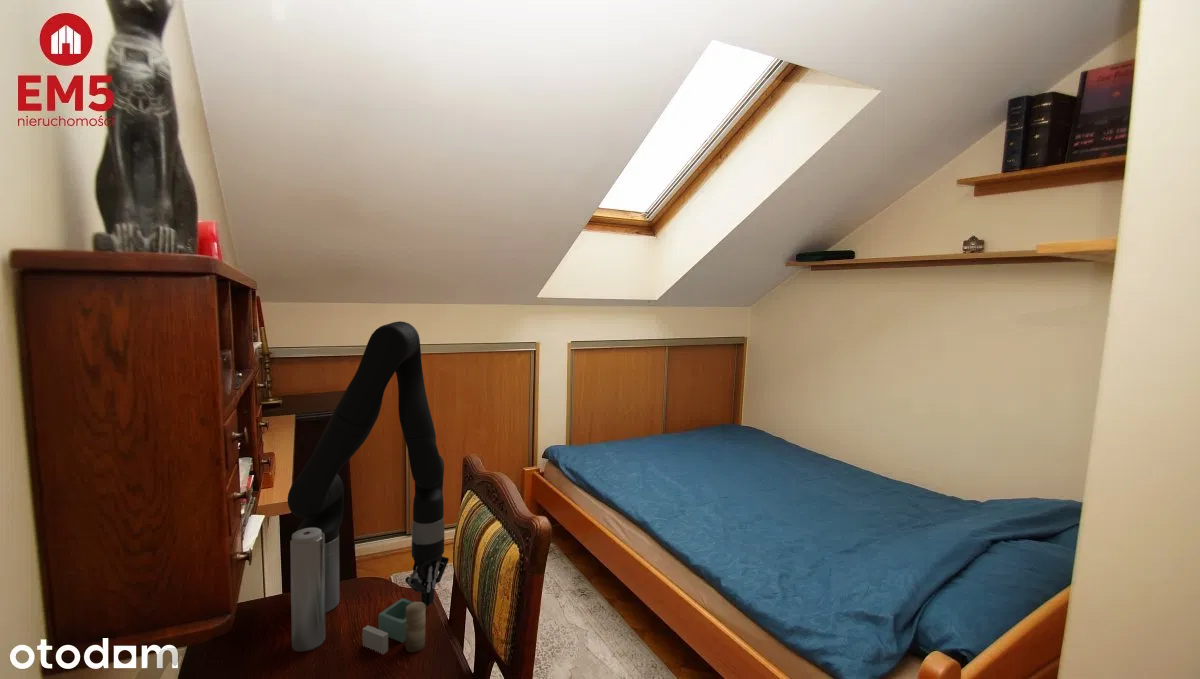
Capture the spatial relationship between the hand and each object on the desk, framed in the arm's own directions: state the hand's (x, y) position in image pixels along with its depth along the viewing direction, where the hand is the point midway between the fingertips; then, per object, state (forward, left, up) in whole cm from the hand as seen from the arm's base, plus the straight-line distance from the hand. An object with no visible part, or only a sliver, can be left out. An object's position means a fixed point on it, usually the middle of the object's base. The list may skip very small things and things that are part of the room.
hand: (427, 603), depth 127 cm
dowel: (+7, -11, -2) cm, 13 cm away
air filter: (-15, -21, -2) cm, 25 cm away
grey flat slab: (0, -16, -2) cm, 16 cm away
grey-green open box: (0, -8, -2) cm, 8 cm away
